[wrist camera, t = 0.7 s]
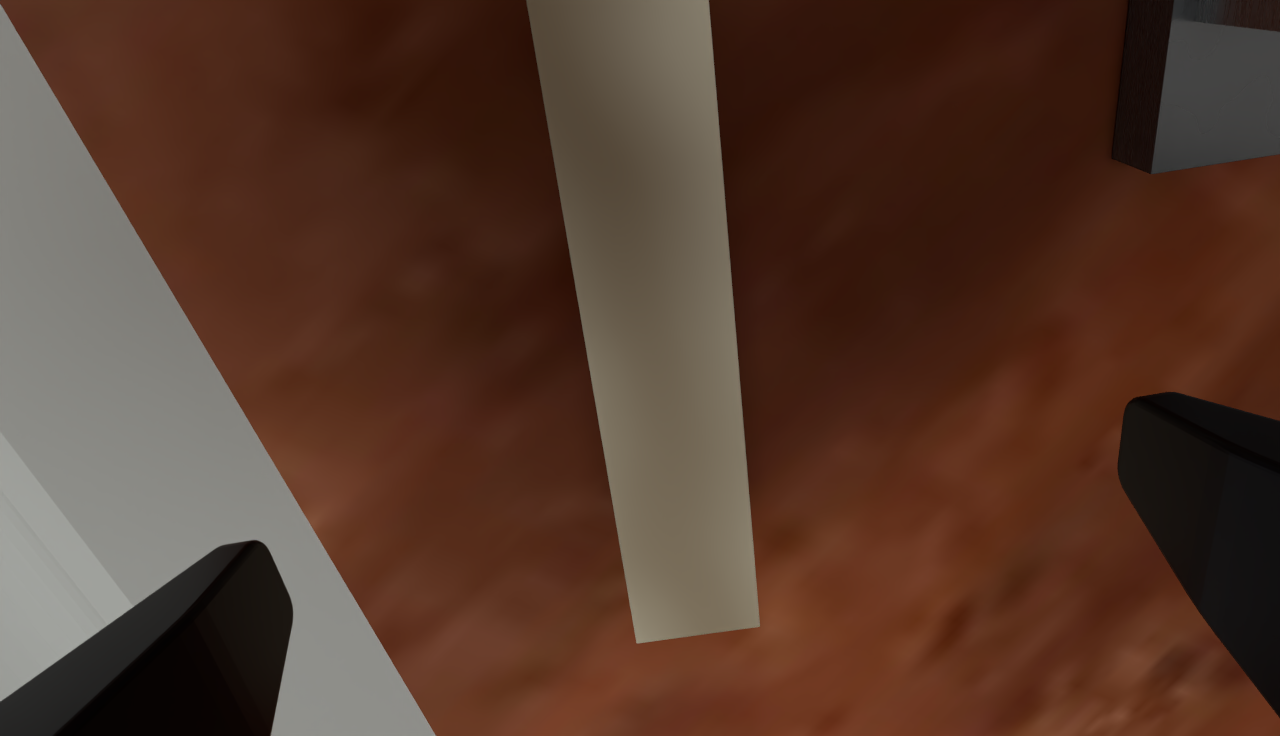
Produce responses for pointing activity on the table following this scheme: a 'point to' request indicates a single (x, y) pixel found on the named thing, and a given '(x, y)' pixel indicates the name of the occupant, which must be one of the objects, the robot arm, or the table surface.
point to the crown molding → (136, 441)
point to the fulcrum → (1198, 84)
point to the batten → (655, 297)
